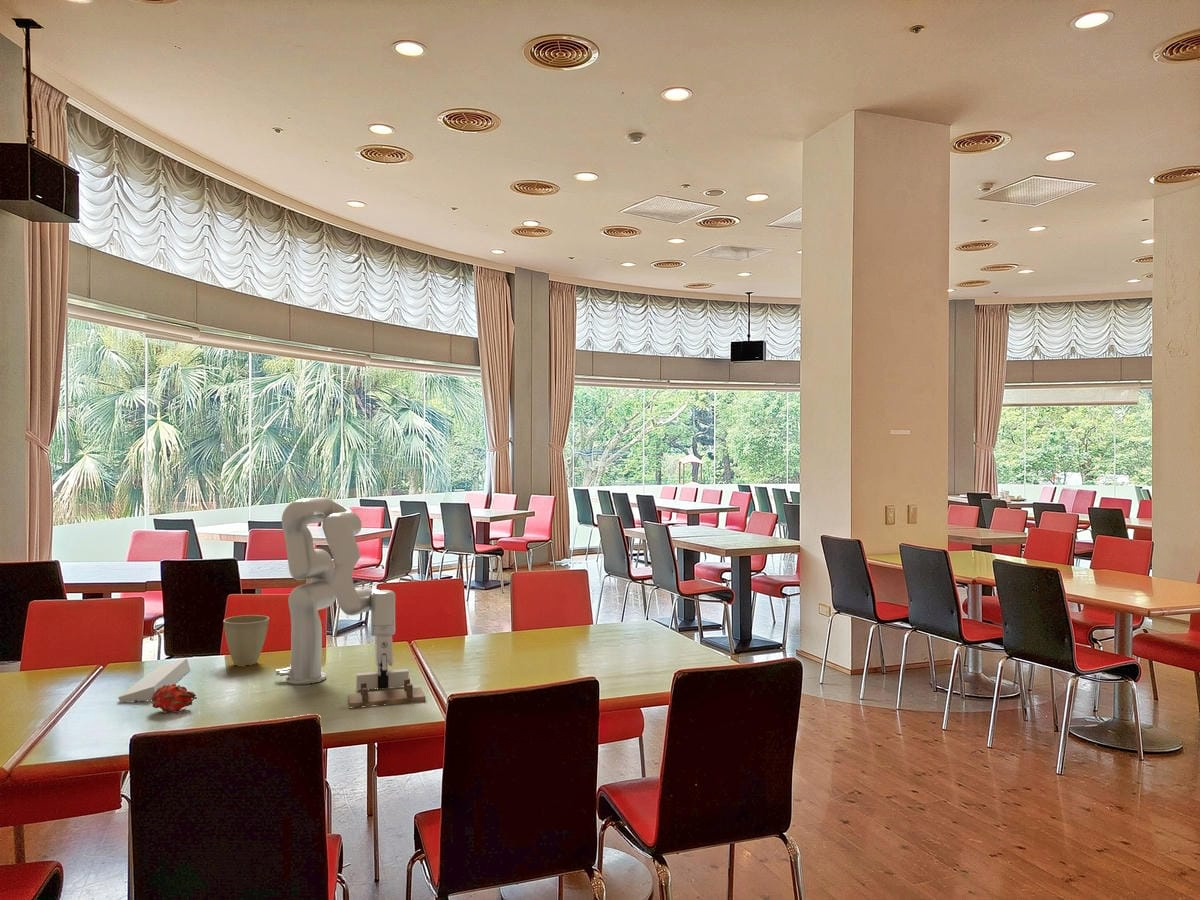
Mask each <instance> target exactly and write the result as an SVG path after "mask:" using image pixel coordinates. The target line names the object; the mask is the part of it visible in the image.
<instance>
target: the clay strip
mask: <svg viewBox="0 0 1200 900" xmlns="http://www.w3.org/2000/svg"><path fill="white" fill-rule="evenodd" d="M409 673H410V672H409V669H408V668H402V669H401V668H400V669H390V670H389V669H388V688H387V689H391V688H390V687H398V688H402V687H401V686H404V678H410V677H409ZM355 675H356V676H355V678H356V679H355V685H356V686H355V690H356V689H357V690H361V682H366V683H367V688H368V689H375V688H376V690H378V689H377V688H378V676H379V671H377V670H376V671H366V672H356V673H355ZM357 690H356V691H357Z"/></svg>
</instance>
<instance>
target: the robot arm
mask: <svg viewBox="0 0 1200 900" xmlns="http://www.w3.org/2000/svg"><path fill="white" fill-rule="evenodd" d="M319 523H322V531H323V534H324V537H325V540H326V543H327V546H328V547H329V551H330V553H331V554H330V553H329V552H327V550H325V549H322V548H315V546H314V539H313V534H312V533H311V531H310V529H309V528H308V525H311V524H319ZM281 526H282V527H281V528H282V530H283V536H284V539H285V548H286V557H287V563H288V564H287V565H288V570H289V574H290V577H292V579H294V580H296V581H305V580H310V581H309V582H307V583H304V584H300V585H298V586H296V587H294V588H293V589H292V590H291V592H289V595H288V600H287V601H288V609H289V613H290V627H291V628H290V665H289V667H286V668H277V669H276V671H275V676H279V677H285V676H286V677H285V682H286V683H287V684H290V685H311V684H310V683H312V684H315V683H316V682H317V683H321V682H322V680H323V681H324V680H326V678H327V673H325V672H324V671H322V655H323V654H322V649H323V648H322V645H323V644H322V643H323V638H322V637H323V636H322V635H323V633H322V632H323V630H322V629H323V628H322V620H321V617H320V615H319V610H323V609H327V608H329V607H331V606H332V605H333V604H334V603H335V602H336V601H337V603H338V606H339V608H340V610H341V611H342V612H343V613H344V614H345V615H347V616H356V615H360V614H363V613H366V612H370V636H373V637H374V659H375V664H376V666H377V670H376V671H379V676H378V689H377V690H383V689H382V688H387V689H389V688H388V670H389V666H390V667H392V666H393V665H394V662H393V661H394V658H393V656H394V655H393V653H394V652H393V635H395V634H396V593H395V592H394V591H393V590H390V589H381V590H380V589H377V588H373V587H364V588H360V589H356V587H355V584H354V580H353V571H354V569H355V567H356V565H357V563H358V561H360V559H361V551H360V549H359V546H358V543H357V541H356V537H355V536H357V535H358V534H360V532H361V530H362V520H361V518H360V516H359V515H358V514H357V513H355V512H354V511H353V510H351V509H350V508H348V507H346V506H344V505H342V504H340V503H339V502H337V501H335V500H333V499H331V498H329V497H324V496H322V497H321V496H320V497H306V498H301V499H297V500H293V501H292V502H291V503H289V504H288V505H287V506H286V507H285V509H284V511H283V513H282V515H281ZM317 683H316V684H317Z"/></svg>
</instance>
